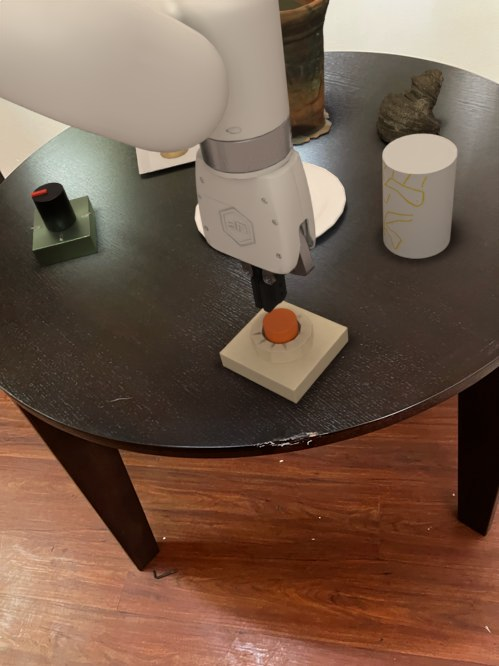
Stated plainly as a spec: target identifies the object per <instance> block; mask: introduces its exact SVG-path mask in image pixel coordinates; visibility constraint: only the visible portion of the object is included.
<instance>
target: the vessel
mask: <svg viewBox="0 0 499 666" xmlns="http://www.w3.org/2000/svg"><path fill="white" fill-rule="evenodd" d="M278 3H279V12H280V22H281V32H282V42H283V51H284V61H285V71H286V81H287V90H288V100H289V111H290V120H291V130H292V140H293V145H300V144H303V143H306V142H309V141H310V138H318V137H319V136H321V135H323V134H326V133H328V132H329V131H330V129H331V126H332V122H331V121H330V120H328V119H329V118H330V116H329V115H330V113H328V112H327V111H326V108H325V39H324V37H325V36H324V25H325V21H326V15H327V11H328V7H329V5H330V0H278Z"/></svg>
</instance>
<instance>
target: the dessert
mask: <svg viewBox="0 0 499 666" xmlns="http://www.w3.org/2000/svg"><path fill="white" fill-rule="evenodd" d="M199 148H200V145H199V144H198V145H196V146H194V147H192V148H189V149H186V150H183V151H178V152H172V153H164V152H153V151H147V150H143V149H140V148H137V147H135V153H136V159H137V161H136V162H137V167H138V174H139V175H145V174H151V173H155V172H160V171H164V170H168V169H171V168H174V167H180V166H184V165H187V164H191V163H196V153H197V150H198V149H199Z"/></svg>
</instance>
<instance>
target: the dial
mask: <svg viewBox="0 0 499 666" xmlns="http://www.w3.org/2000/svg"><path fill="white" fill-rule="evenodd" d="M30 197H31V199H32V201H33V203H34V206H35V207H36V208H35V209H37V210H38V212H39V214H40V216H41V218H42V220H43V222H44V224H45V226H46V228H47V229H48V230H50V231H60V230H64V229H66V228H68V227H70V226H71V225H72V224H73V223H74V222H75V220H76V215H75V213H74V210H73V208H72V206H71V203H70V201H69V200H70V199H69V196H68V195H67V192H66V189H65V187H64V185H63V184H62V183H60V182H55V181H54V182H53V181H51V182H47V183H44V184H41V185H40V186H38V187H37V188H35V189H34V190H33V191H32V192H30Z"/></svg>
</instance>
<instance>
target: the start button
mask: <svg viewBox="0 0 499 666" xmlns="http://www.w3.org/2000/svg"><path fill="white" fill-rule="evenodd" d="M263 328H264V332H265V336H266V338H267V339H268V340H269V341H271V342H273V343H277V344H283V343H287V342H289V341H291V340H293V339H294V338H295V337H296V336H297V334H298V323H297V317H296V315H295V313H294V312H293V311H291V310H289V309H286V308H278V309H274V310H272V311H271V312H270V313H267V314H266V315H265V316H264V318H263Z"/></svg>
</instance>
